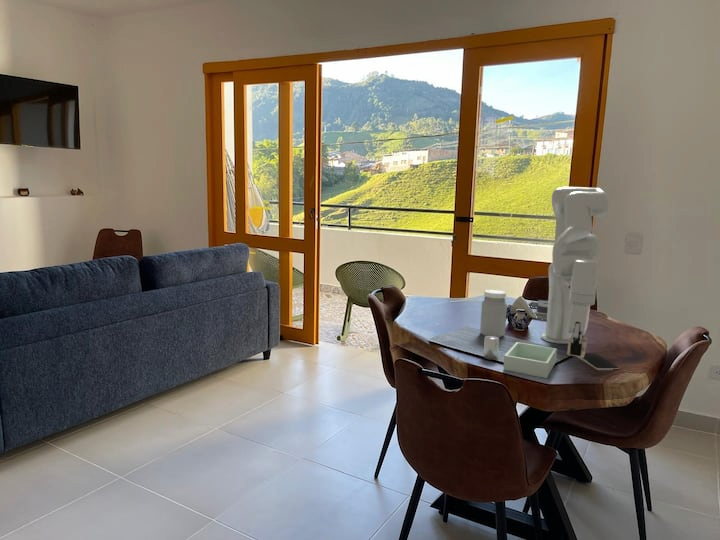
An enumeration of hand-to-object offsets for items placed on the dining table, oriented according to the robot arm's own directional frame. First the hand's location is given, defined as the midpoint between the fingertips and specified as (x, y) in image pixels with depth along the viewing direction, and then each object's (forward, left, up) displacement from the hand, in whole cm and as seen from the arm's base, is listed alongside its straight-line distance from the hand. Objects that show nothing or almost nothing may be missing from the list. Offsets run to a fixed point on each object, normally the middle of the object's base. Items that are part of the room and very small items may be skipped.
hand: (576, 351), depth 170 cm
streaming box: (-79, -19, -8) cm, 81 cm away
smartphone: (-15, +5, -8) cm, 18 cm away
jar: (-28, -35, -7) cm, 45 cm away
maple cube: (0, 0, -1) cm, 1 cm away
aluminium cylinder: (0, -28, -7) cm, 29 cm away
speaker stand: (-76, -21, -7) cm, 79 cm away
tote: (+2, -14, -7) cm, 16 cm away
